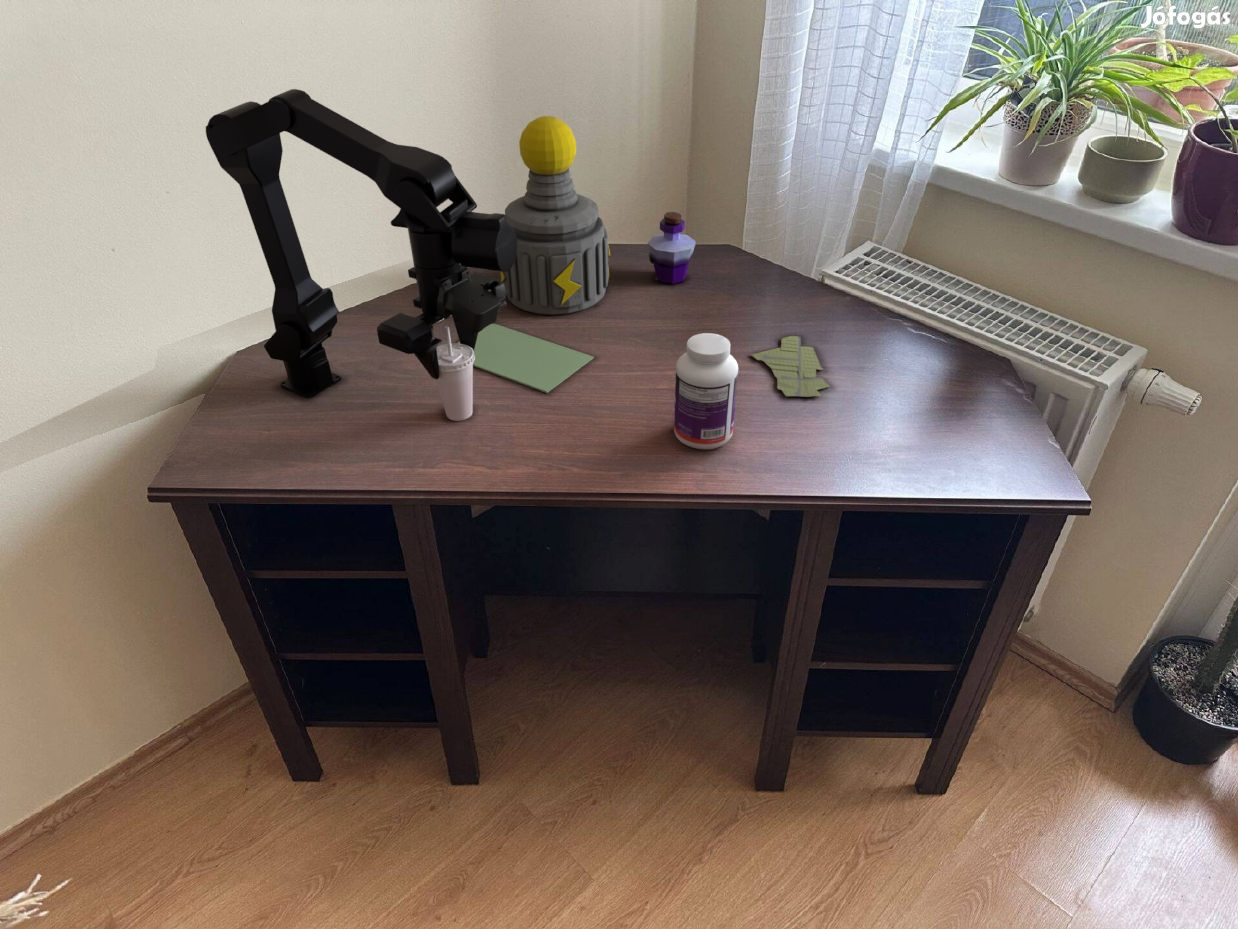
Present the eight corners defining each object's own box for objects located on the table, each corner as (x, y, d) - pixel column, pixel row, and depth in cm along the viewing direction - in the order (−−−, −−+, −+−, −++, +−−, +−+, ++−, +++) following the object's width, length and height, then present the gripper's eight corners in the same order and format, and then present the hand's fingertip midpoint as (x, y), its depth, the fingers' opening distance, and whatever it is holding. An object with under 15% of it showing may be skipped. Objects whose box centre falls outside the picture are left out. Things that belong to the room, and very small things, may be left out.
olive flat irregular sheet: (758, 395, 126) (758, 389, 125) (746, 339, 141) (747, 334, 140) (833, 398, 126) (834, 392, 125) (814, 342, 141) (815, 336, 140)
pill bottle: (696, 412, 123) (700, 321, 115) (743, 432, 119) (752, 340, 111) (661, 438, 118) (663, 345, 110) (710, 460, 114) (716, 366, 106)
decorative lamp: (493, 278, 159) (475, 106, 141) (592, 264, 163) (587, 96, 145) (515, 325, 144) (498, 140, 126) (623, 308, 149) (621, 128, 131)
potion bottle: (645, 268, 161) (645, 205, 154) (691, 267, 162) (694, 204, 154) (649, 289, 155) (650, 224, 147) (697, 287, 155) (700, 222, 148)
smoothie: (439, 429, 121) (424, 339, 112) (434, 405, 126) (419, 317, 117) (485, 421, 122) (473, 332, 114) (478, 398, 127) (467, 311, 119)
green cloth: (441, 354, 137) (440, 352, 137) (490, 323, 145) (490, 322, 145) (547, 393, 128) (546, 391, 128) (593, 358, 136) (593, 356, 136)
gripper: (431, 303, 100) (449, 417, 109) (532, 248, 112) (540, 354, 122) (363, 281, 105) (386, 391, 115) (467, 231, 118) (480, 334, 127)
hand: (452, 367), depth 119 cm, fingers closed on smoothie, 6 cm apart
